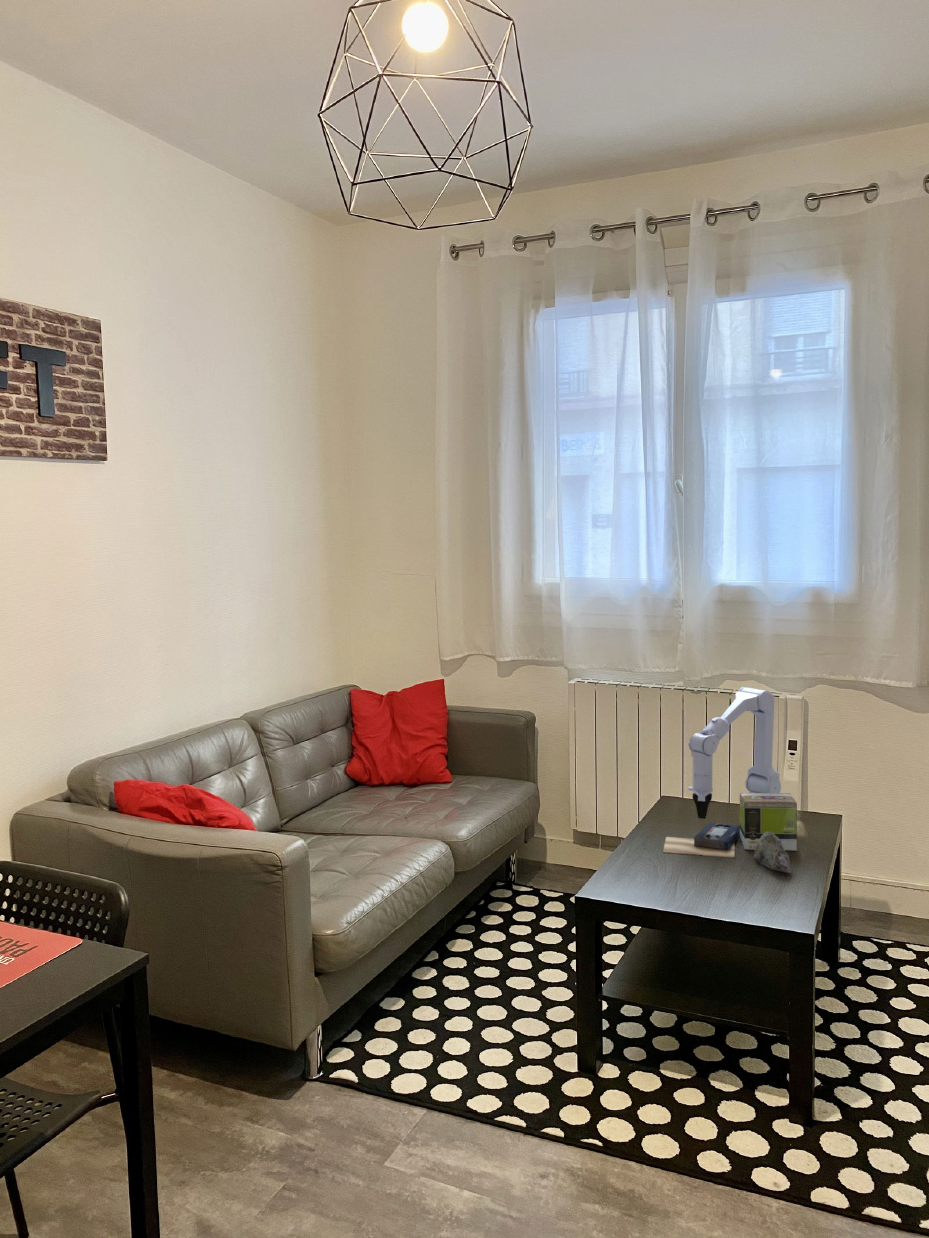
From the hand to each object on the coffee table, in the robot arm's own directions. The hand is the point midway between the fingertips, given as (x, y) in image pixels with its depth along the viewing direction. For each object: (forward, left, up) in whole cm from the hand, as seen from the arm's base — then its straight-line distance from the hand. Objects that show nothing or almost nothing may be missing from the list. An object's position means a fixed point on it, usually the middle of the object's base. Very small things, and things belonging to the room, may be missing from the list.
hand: (702, 817), depth 293 cm
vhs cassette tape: (-2, 0, -5) cm, 6 cm away
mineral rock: (+20, +20, -7) cm, 29 cm away
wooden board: (+7, 0, -7) cm, 10 cm away
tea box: (0, +19, -7) cm, 20 cm away
